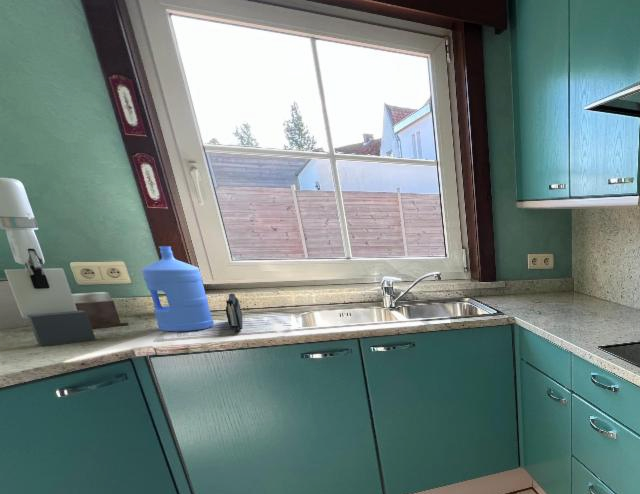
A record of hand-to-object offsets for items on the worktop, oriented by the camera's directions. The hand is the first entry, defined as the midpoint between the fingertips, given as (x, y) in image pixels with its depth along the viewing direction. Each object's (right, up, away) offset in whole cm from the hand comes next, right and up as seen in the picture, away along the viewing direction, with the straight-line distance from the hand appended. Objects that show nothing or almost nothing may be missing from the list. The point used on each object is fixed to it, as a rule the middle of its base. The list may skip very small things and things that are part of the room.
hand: (40, 287), depth 151 cm
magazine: (+38, -7, +31) cm, 49 cm away
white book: (0, -8, +3) cm, 9 cm away
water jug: (+23, -8, +27) cm, 36 cm away
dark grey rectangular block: (+6, -17, +3) cm, 18 cm away
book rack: (-9, -7, +26) cm, 28 cm away
